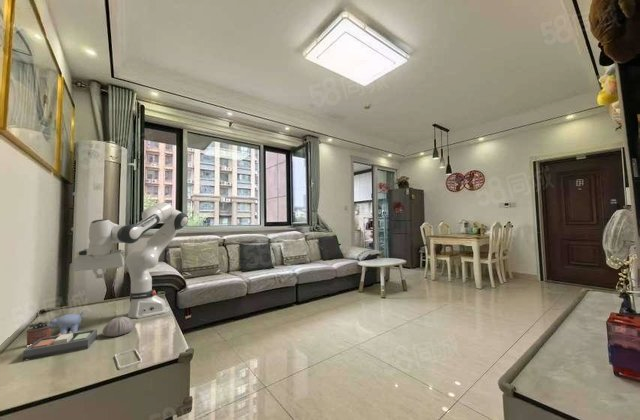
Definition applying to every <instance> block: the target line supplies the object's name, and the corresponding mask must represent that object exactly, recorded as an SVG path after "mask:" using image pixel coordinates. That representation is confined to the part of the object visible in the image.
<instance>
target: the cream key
mask: <svg viewBox="0 0 640 420" xmlns="http://www.w3.org/2000/svg"><path fill="white" fill-rule="evenodd" d="M73 333H74V332H73ZM73 333H66V334H64V335H60V336H59V337H58V338H56V339H55V340H54V345H56V344H62V343H67V342H69V341H70V340H71V339H72V338H73Z"/></svg>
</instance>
